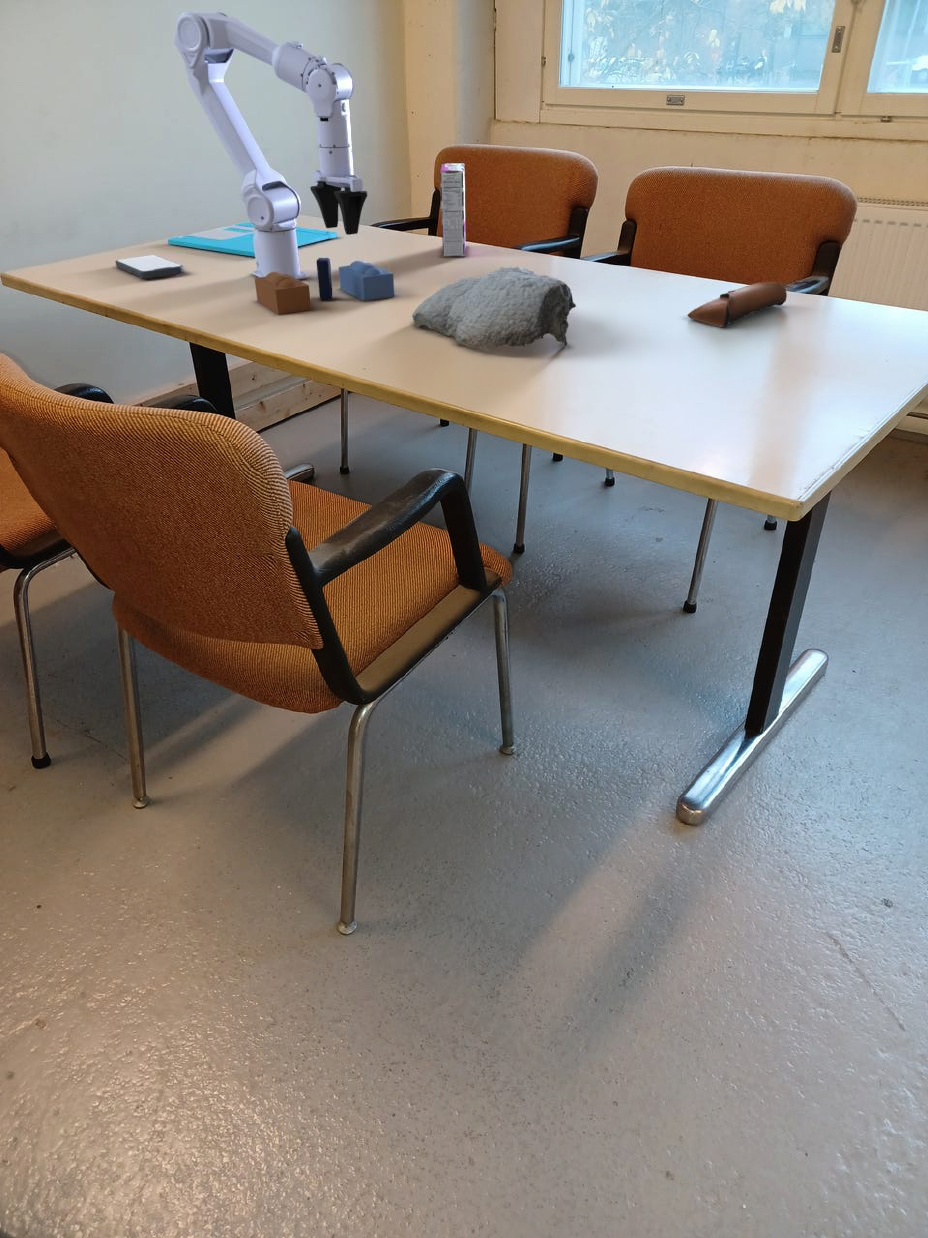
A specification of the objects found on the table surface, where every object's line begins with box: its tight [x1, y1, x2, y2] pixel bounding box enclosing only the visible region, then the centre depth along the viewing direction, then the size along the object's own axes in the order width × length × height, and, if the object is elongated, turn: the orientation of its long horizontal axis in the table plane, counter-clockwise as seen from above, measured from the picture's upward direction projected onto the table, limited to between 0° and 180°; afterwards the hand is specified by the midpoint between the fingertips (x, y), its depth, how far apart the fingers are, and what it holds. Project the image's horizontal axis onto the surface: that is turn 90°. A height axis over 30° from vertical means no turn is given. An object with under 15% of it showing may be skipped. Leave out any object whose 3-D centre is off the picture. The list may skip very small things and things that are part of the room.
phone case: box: [115, 254, 185, 280], centre depth 176 cm, size 9×2×16 cm
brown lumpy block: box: [254, 272, 312, 315], centre depth 152 cm, size 10×6×5 cm, turn 31°
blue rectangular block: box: [338, 260, 395, 302], centre depth 159 cm, size 10×6×5 cm, turn 31°
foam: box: [411, 266, 577, 349], centre depth 137 cm, size 28×21×9 cm
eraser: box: [315, 257, 334, 302], centre depth 155 cm, size 2×2×7 cm
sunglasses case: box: [686, 281, 788, 329], centre depth 146 cm, size 18×7×7 cm, turn 135°
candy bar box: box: [439, 162, 467, 258], centre depth 185 cm, size 11×5×16 cm, turn 179°
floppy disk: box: [167, 222, 338, 258], centre depth 200 cm, size 26×28×1 cm
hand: (341, 230), depth 160 cm, fingers open, 7 cm apart
